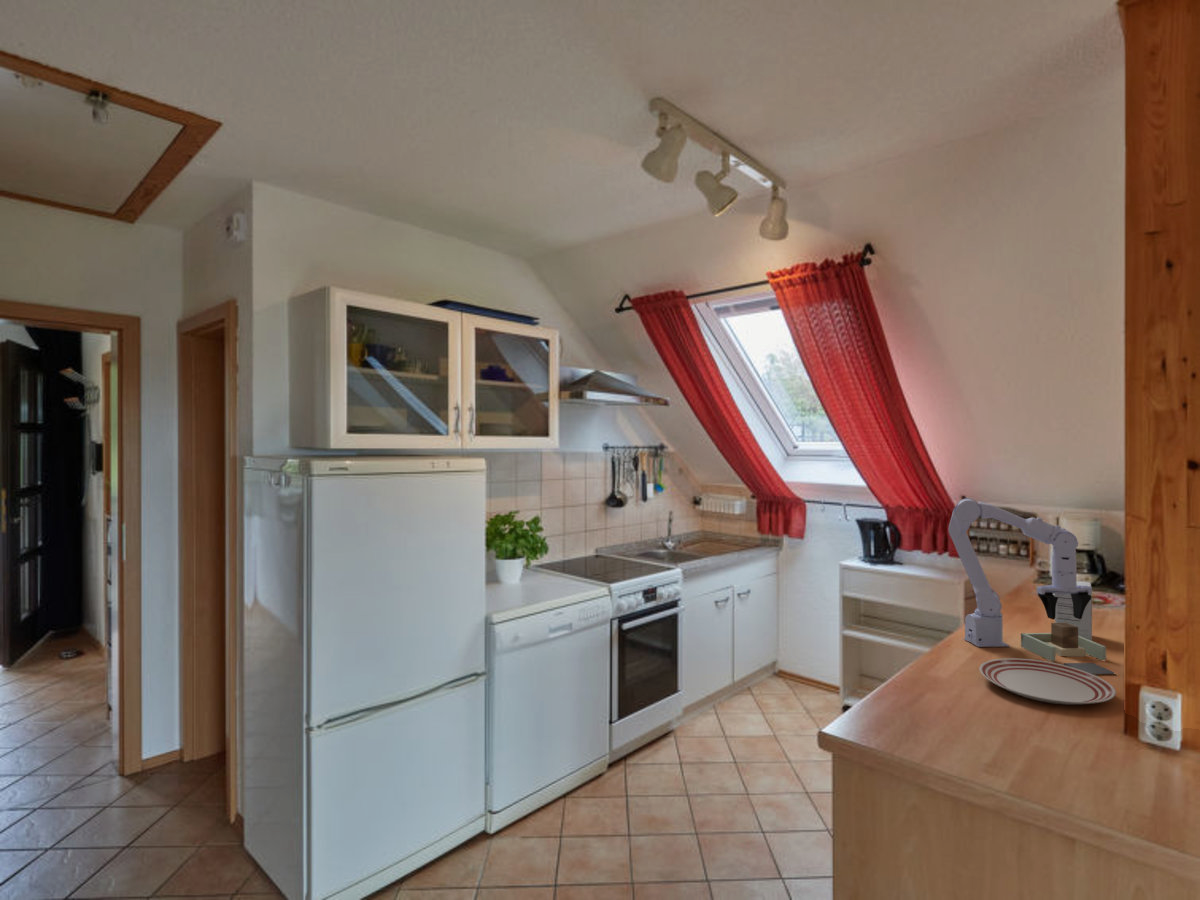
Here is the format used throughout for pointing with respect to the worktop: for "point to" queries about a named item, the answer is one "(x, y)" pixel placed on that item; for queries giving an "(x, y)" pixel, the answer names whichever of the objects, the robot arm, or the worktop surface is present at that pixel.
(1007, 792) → the worktop surface
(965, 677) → the worktop surface
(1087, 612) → the supplement box
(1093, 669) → the mat
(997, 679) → the dinner plate
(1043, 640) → the crate
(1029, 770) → the worktop surface
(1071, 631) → the block
